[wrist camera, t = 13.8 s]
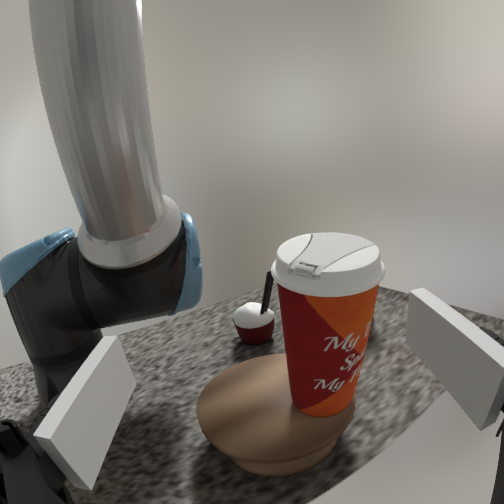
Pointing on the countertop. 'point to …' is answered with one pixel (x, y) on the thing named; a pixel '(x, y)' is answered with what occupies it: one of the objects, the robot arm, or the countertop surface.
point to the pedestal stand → (266, 420)
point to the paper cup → (326, 315)
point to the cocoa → (256, 317)
